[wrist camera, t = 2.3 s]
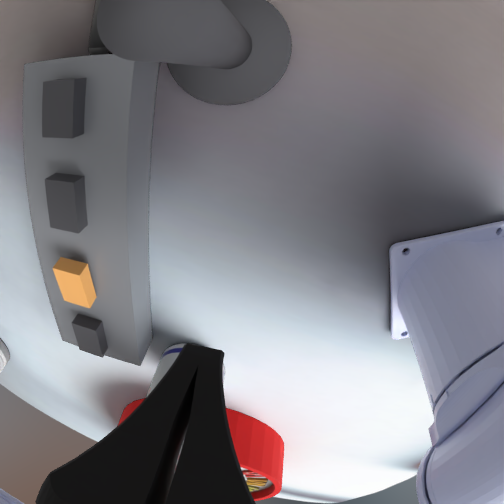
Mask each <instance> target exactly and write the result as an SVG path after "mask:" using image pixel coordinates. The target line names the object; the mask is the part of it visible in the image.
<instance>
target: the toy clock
mask: <svg viewBox="0 0 504 504" xmlns="http://www.w3.org/2000/svg"><path fill="white" fill-rule="evenodd" d="M144 399H145V398H143V399H140V400H136V401H133V402H132V403H130V404H128V405H127V406H126V407H125V409H124V411H123V413H122V416H121V418H120V421H119V424H118V425H120V424H121V423H122V422H123V421H124V420H125V419H126V418H127V417H128V416H129V415H130V414H131V413H132V412H133V411H134V410H135V409H136V408H137V407H138V406H139V405H140V404H141V403H142V402H143V400H144ZM226 413H227V418H228V423H229V428H230V432H231V437H232V441H233V444H234V448H235V451H236V455H237V458H238V461H239V464H240V467H241V470H242V472H243V475H244V477H245V480H246V483H247V485H248V487H249V490H250V492H251V495H252V497H253V499H254V501H257V500H263V499H267V498H270V497H273V496H275V495H276V494H278V493H279V492H280V491H281V487H282V473H283V458H284V442H283V440H282V438H281V436H280V435H279V434H278V433H277V432H276V431H275V430H273V429H272V428H271V427H269V426H268V425H266V424H265V423H263V422H261V421H259V420H257V419H255V418H253V417H250V416H248V415H245V414H243V413H240V412H238V411H234V410H231V409H228V408H226Z"/></svg>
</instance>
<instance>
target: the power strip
mask: <svg viewBox="0 0 504 504" xmlns="http://www.w3.org/2000/svg"><path fill="white" fill-rule="evenodd" d="M100 2H101V0H96V3H95V8H94V14H93V20H92V26H91V33H90V40H89V47H88V52H89V54H90V55H89V56H78V57H69V58H60V59H53V60H46V61H39V62H33V63H28V64H24V77H23V110H22V114H23V148H24V163H25V174H26V184H27V192H28V200H29V207H30V214H31V220H32V226H33V231H34V237H35V242H36V247H37V252H38V256H39V261H40V265H41V269H42V273H43V277H44V281H45V285H46V289H47V292H48V296H49V300H50V303H51V306H52V310H53V313H54V316H55V319H56V323H57V326H58V329H59V332H60V334H61V337H62V340H63V341H65V342H68V343H71V344H74V345H76V346H79V349H80V350H82V351H85V352H88V353H91V354H94V355H97V356H100V357H103V356H104V355H106V356H109V357H112V358H115V359H119V360H122V361H125V362H128V363H132V364H135V365H139V366H141V364H142V361H143V359H144V357H145V354H146V352H147V350H148V347H149V345H150V343H151V341H152V338H153V335H152V321H151V304H150V282H149V182H150V160H151V143H152V130H153V118H154V107H155V97H156V88H157V79H158V71H159V63H160V62H147V61H131V60H126V59H123V58H120V57H118V56H116V55H115V54H107V53H108V51H109V50H108V49H107V48H106V46H105V45H104V44H103V42H102V40H101V39H100V36H99V33H98V29H97V13H98V8H99V5H100ZM60 257H63V258H67V259H71V260H75V261H79V262H83V263H87V264H88V267H89V271H90V275H91V278H92V282H93V286H94V289H95V293H96V296H97V297H96V299H95V301H94V302H93V304H92V306H91V308H86V307H83V306H80V305H77V304H74V303H70V302H67V301H64V298H63V296H62V293H61V291H60V288H59V285H58V282H57V280H56V277H55V274H54V271H53V267H54V265H55V264H56V263H57V261H58V260H59V259H60Z"/></svg>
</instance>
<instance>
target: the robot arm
mask: <svg viewBox="0 0 504 504" xmlns="http://www.w3.org/2000/svg"><path fill="white" fill-rule="evenodd" d="M498 228H499V230H498V231H497V229H498ZM496 231H497V232H496ZM405 248H408V250H407V251H406V252H402V251H403V249H405ZM389 257H390V283H391V337H392V338H393V339H395V340H398V339H402V338H407V337H410V339H411V342H412V345H413V348H414V351H415V354H416V357H417V360H418V363H419V366H420V370H421V373H422V376H423V379H424V383H425V386H426V389H427V393H428V396H429V400H430V403H431V407H432V411H433V414H434V423H433V424H432V426H431V427H430V428H429V433H430V437H431V442H432V447H431V448H430V449H429V450H428V451H427V452H426V454H425V455H424V457H423V459H422V461H421V463H420V465H419V469H418V472H417V480H416V489H417V496H418V500H419V503H420V504H504V221H500V222H495V223H490V224H486V225H481V226H476V227H472V228H467V229H462V230H458V231H453V232H448V233H443V234H438V235H434V236H429V237H424V238H419V239H414V240H409V241H404V242H399V243H395V244H393V245H392V246H391V247H390V250H389ZM404 331H405V332H404ZM402 332H403V333H402ZM223 358H224V352H223V351H222V350H217V349H212V348H207V347H203V346H198V345H193V344H189V343H187V344H185V345H184V346H183V348H182V350H181V352H180V353H179V355H178V357H177V358H176V360H175V361H174V363H173V364H172V366H171V367H170V368H169V370H168V371H167V373H166V374H165V375H164V376H163V378H162V379H161V380H160V382H159V383H158V384H157V385H156V387H155V388H154V389H153V390H152V391H151V393H150V394H149V395H148V396H147V397H146V398H145V399H144V400H143V402H142V403H141V404H140V405H139V406H138V407H137V408H136V409H135V410H134V411H133V412H132V413H131V414H130V415H129V416H128V417H127V418H126V419H125V420H124V421H123V422H122V423H121V424H120V425H118V426H117V427H116V428H115V429H114V430H113V431H111V432H110V433H109V434H108V435H107V436H106V437H104V438H103V439H102V440H100V441H99V442H98V443H96V444H95V445H94V446H92V447H91V448H89V449H88V450H87V451H85V452H84V453H82V454H81V455H79V456H78V457H76V458H75V459H73V460H71V461H69V462H68V463H66V464H64V465H62V466H61V467H59V468H57V469H55V470H54V471H52V472H50V474H49V475H48V476H47V478H46V479H45V481H44V483H43V484H42V486H41V489H40V491H39V494H38V496H37V499H36V504H255V501H254V499H253V497H252V495H251V492H250V490H249V487H248V485H247V483H246V480H245V477H244V475H243V472H242V470H241V467H240V464H239V461H238V458H237V455H236V451H235V448H234V444H233V441H232V437H231V432H230V428H229V423H228V418H227V413H226V407H225V399H224V391H223ZM183 441H184V442H183ZM182 444H183V445H182ZM181 447H182V449H181ZM180 450H181V452H180ZM179 453H180V456H179ZM178 456H179V459H178ZM177 460H178V463H177ZM176 463H177V466H176ZM175 468H176V470H175ZM174 472H175V473H174ZM0 504H24V503H23V502H21V501H19V500H18V499H16V498H15V497H13V496H11V495H10V494H8V493H7V492H5V491H4V490H2V489H1V488H0Z"/></svg>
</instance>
